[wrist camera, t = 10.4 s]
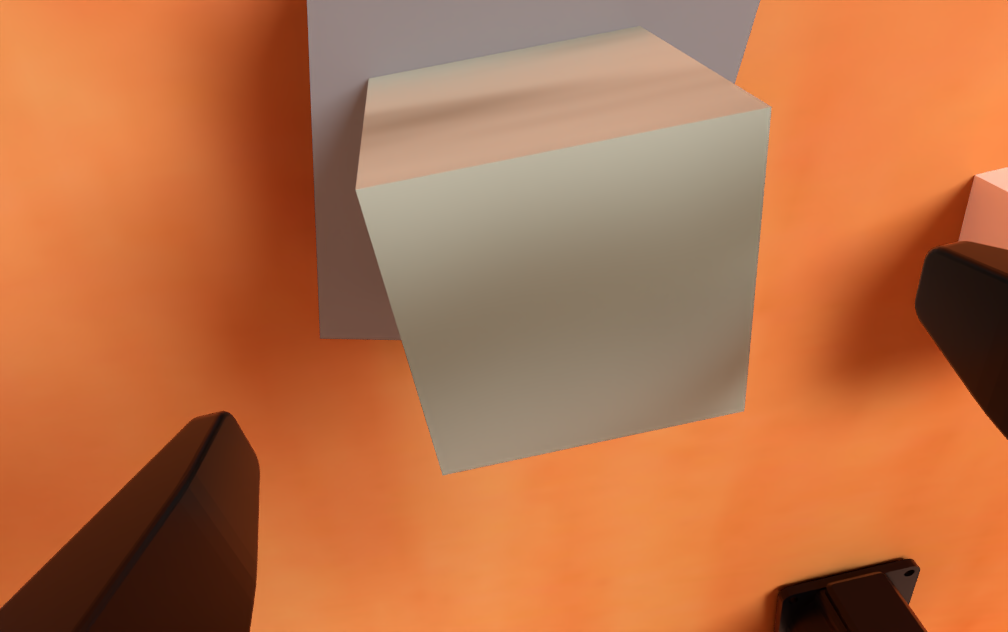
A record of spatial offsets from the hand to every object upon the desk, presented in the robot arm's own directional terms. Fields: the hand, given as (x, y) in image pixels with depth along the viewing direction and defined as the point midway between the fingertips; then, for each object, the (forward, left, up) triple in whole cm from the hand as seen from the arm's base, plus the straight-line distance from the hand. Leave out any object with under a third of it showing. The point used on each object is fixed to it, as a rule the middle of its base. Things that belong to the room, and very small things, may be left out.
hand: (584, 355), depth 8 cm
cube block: (0, 0, -6) cm, 6 cm away
